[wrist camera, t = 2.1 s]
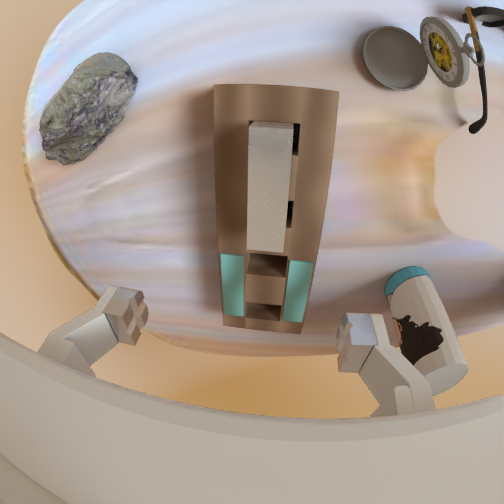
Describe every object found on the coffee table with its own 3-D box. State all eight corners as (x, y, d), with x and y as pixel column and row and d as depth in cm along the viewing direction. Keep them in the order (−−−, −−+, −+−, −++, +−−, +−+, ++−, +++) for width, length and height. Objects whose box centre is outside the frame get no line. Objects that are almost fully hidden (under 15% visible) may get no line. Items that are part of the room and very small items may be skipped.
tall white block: (292, 116, 24) (293, 129, 17) (286, 210, 29) (283, 252, 23) (260, 114, 24) (248, 126, 17) (257, 207, 30) (246, 249, 23)
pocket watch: (347, 58, 20) (379, 46, 11) (392, 5, 15) (437, -22, 7) (411, 114, 21) (464, 135, 13) (452, 62, 17) (513, 65, 9)
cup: (375, 289, 34) (398, 390, 22) (413, 257, 30) (456, 355, 18) (401, 310, 35) (425, 402, 23) (437, 282, 32) (475, 372, 20)
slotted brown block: (332, 90, 22) (339, 91, 18) (301, 311, 38) (300, 335, 34) (224, 84, 23) (212, 84, 19) (229, 304, 39) (223, 326, 35)
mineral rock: (75, 162, 29) (21, 196, 21) (53, 90, 23) (-7, 108, 15) (155, 130, 26) (99, 157, 18) (131, 43, 20) (67, 39, 12)
